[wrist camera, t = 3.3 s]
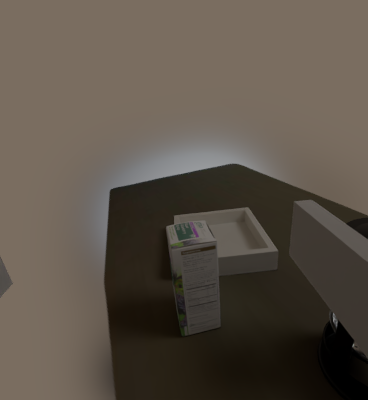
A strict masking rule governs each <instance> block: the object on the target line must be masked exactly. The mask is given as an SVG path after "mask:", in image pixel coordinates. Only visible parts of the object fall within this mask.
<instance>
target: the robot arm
mask: <svg viewBox="0 0 368 400" xmlns="http://www.w3.org/2000/svg"><path fill="white" fill-rule="evenodd" d="M289 255H290V257H291V258H292V259H293V261H294V262H295V263H296V265H297V266H298V267H299V268H300V270H301V271H302V272H303V274H304V275H305V276H306V278H307V279H308V280H309V282H310V283H311V284H312V286H313V287H314V288H315V289H316V291H317V292H318V293H319V295H320V296H321V297H322V299H323V300H324V301H325V303H326V304H327V305H328V307H329V308H330V309H331V311H332V312H333V313H334V314H335V316H336V317H337V318H338V320H339V321H340V322H341V324H342V325H343V326H344V328H345V329H346V330H347V332H348V333H349V334H350V336H351V337H352V338H353V339H354V341H355V342H356V343H357V345H358V346H359V347H360V349H361V350H362V351H363V353H364V354H365V355H366V357H367V358H368V239H366V238H365V237H364V236H362V235H361V234H359V233H358V232H357V231H355V230H354V229H352V228H351V227H350V226H348V225H347V224H345V223H344V222H342V221H341V220H340V219H338V218H337V217H335V216H334V215H333V214H331V213H330V212H328V211H327V210H325V209H324V208H323V207H321V206H320V205H318V204H317V203H316V202H314V201H313V200H304V201H295V202H294V208H293V218H292V229H291V239H290V250H289ZM12 284H13V283H12V281H11V279H10V277H9V274H8V273H7V270H6V268H5V266H4V264H3V262H2V259H1V257H0V297H1V296H2V295H3V294H4V293H5V292H6V290H7V289H8V288H9V287H10V286H11V285H12Z"/></svg>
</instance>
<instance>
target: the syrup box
mask: <svg viewBox="0 0 368 400" xmlns="http://www.w3.org/2000/svg"><path fill="white" fill-rule="evenodd" d="M166 232H167V240H168V248H169V257H170V266H171V275H172V282H173V288H174V295H175V302H176V309H177V315H178V320H179V325H180V330H181V336H187V335H192V334H196V333H200V332H203V331H208V330H211V329H215V328H219V327H221V318H220V296H219V271H218V252H217V240H216V239H215V237H214V235H213V233H212V231H211V229H210V227H209V226H208V224H207V222H206V221H205V220H201V221H189V222H183V223H178V224H174V225H170V226H167V227H166Z"/></svg>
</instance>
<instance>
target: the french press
mask: <svg viewBox="0 0 368 400" xmlns="http://www.w3.org/2000/svg"><path fill="white" fill-rule="evenodd" d="M347 225H348V226H350V227H351V228H352V229H354V230H355V231H357V232H358V233H359V234H361V235H362V236H364V237H365V238H366V239H368V218H361V219H356V220H353V221H350V222H348V223H347ZM329 317H330V321H329V322H328V323H327V324H326V326H325V327H324V331H323V337H322V339H321V341H320V343H319V347H318V360H319V364H320V367H321V369H322V371H323V373H324V375H325V377H326V379H327V380H328V382H329V383H330V384H331V386H332V387H333V388H334V389H335V390H336V391H337V392H338V394H339V395H341V396H342V397H343V398H344V399H345V400H368V387H367V386H365V385H364V384H362V383H361V382H359V381H357V380H356V379H354V378H353V377H352V376H351V375H349V374H348V373H347V369H348V365H349V361H350V357H351V353H352V354H353V355H354V356H355V357H357V358H358V359H360V360H362V361H363V362H365V363H367V364H368V358H367V357H366V355H365V354H364V353H363V351H362V350H361V349H360V347H359V346H358V345H357V343H356V342H355V341H354V339H353V338H352V337H351V336H350V334H349V333H348V332H347V330H346V329H345V328H344V326H343V325H342V324H341V322H340V321H339V320H338V318H337V317H336V316H335V314H334V313H333V312H332V311H331V310H330V314H329ZM332 347H333V348H332ZM331 349H332V353H331Z"/></svg>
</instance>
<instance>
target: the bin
mask: <svg viewBox="0 0 368 400" xmlns="http://www.w3.org/2000/svg"><path fill="white" fill-rule="evenodd" d="M201 220H205V221H206V222H207V224H208V226H209V227H210V229H211V231H212V233H213V235H214V237H215V239H216V240H217V252H218V271H219V276H223V275H232V274H241V273H251V272H260V271H269V270H277V264H278V250H277V248H276V247H275V245H274V244H273V243H272V241H271V240H270V238H269V237H268V235H267V234H266V232H265V231H264V230H263V228H262V227H261V225H260V224H259V222H258V221H257V219H256V218H255V216H254V215H253V214H252V212H251V211H250V209H249V208H248V207H247V208H238V209H229V210H221V211H212V212H203V213H194V214H185V215H176V216H174V224H178V223H183V222H189V221H201Z"/></svg>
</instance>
